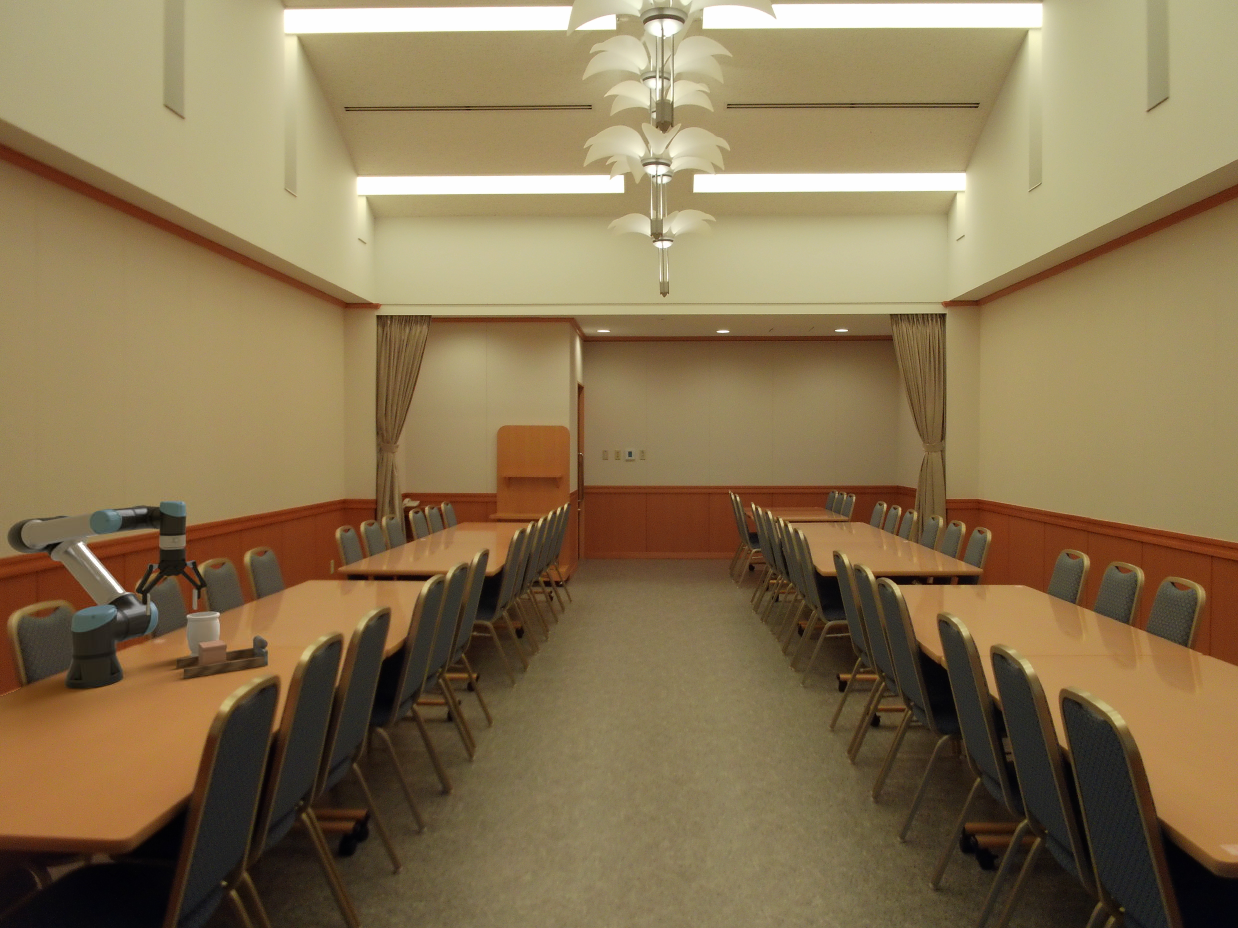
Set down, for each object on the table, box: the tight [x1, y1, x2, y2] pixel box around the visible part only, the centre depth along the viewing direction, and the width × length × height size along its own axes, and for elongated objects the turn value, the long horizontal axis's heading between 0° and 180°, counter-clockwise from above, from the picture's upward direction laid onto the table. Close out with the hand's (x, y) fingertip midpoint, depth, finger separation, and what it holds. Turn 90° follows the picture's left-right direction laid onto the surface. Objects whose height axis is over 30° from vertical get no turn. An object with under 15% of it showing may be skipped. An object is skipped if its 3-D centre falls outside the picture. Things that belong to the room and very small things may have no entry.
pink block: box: [198, 639, 228, 666], centre depth 253 cm, size 7×8×8 cm
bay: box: [176, 635, 269, 679], centre depth 255 cm, size 26×16×8 cm, turn 129°
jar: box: [185, 611, 221, 657], centre depth 268 cm, size 11×10×15 cm
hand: (171, 611), depth 246 cm, fingers open, 13 cm apart
